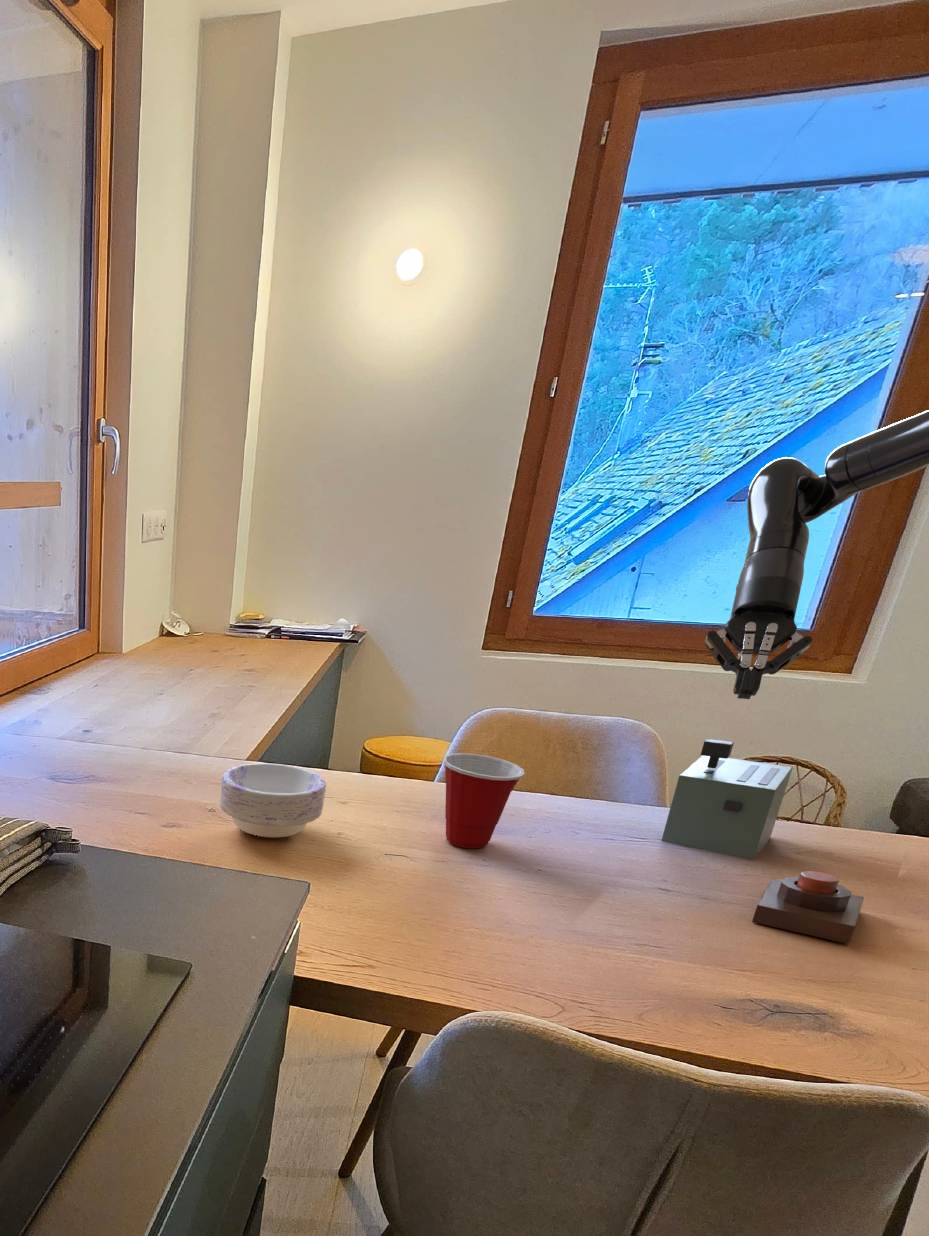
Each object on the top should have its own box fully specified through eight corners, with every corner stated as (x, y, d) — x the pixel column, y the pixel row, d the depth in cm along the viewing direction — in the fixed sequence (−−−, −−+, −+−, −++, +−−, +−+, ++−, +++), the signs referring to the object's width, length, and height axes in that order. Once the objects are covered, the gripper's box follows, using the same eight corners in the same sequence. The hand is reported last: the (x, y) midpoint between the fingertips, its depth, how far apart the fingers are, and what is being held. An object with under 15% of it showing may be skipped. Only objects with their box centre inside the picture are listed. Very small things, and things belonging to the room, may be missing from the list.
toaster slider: (700, 764, 133) (707, 738, 132) (726, 768, 131) (734, 742, 130) (697, 766, 132) (704, 741, 130) (723, 770, 130) (731, 744, 128)
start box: (767, 894, 118) (777, 864, 116) (857, 913, 112) (869, 882, 110) (751, 922, 109) (761, 890, 108) (848, 944, 104) (860, 911, 102)
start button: (798, 882, 112) (802, 868, 111) (835, 889, 109) (840, 875, 109) (794, 890, 109) (798, 876, 108) (832, 898, 107) (837, 884, 106)
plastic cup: (518, 857, 130) (536, 775, 125) (437, 853, 132) (452, 772, 127) (497, 829, 140) (513, 752, 135) (422, 826, 141) (435, 749, 136)
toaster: (684, 823, 145) (703, 753, 140) (769, 839, 138) (793, 766, 134) (657, 851, 133) (678, 775, 128) (749, 869, 126) (775, 790, 122)
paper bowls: (336, 842, 135) (343, 790, 132) (236, 849, 134) (240, 796, 130) (298, 807, 149) (303, 759, 145) (206, 813, 147) (209, 764, 144)
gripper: (718, 572, 135) (694, 678, 132) (833, 575, 128) (810, 687, 125) (708, 602, 141) (685, 704, 138) (817, 606, 135) (795, 713, 132)
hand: (744, 696), depth 132 cm, fingers closed
